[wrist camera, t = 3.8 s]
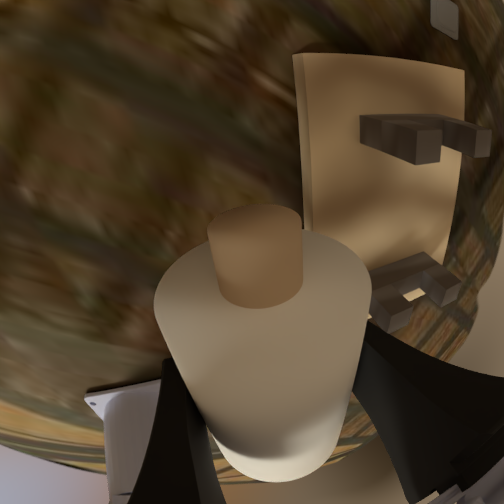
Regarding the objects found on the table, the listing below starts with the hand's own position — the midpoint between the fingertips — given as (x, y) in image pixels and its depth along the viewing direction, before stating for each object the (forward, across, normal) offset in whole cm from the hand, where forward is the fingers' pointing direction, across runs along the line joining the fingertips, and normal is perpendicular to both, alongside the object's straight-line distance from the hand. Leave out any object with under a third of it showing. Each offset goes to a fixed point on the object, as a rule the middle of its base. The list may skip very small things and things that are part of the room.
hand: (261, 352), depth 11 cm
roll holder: (+8, -12, 0) cm, 15 cm away
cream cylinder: (-1, 0, 0) cm, 1 cm away
